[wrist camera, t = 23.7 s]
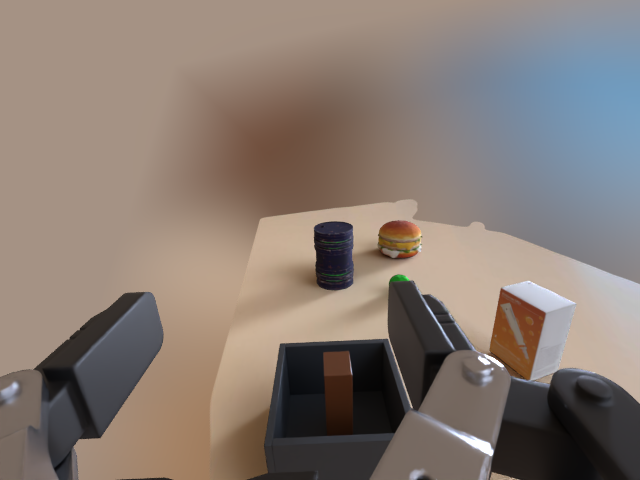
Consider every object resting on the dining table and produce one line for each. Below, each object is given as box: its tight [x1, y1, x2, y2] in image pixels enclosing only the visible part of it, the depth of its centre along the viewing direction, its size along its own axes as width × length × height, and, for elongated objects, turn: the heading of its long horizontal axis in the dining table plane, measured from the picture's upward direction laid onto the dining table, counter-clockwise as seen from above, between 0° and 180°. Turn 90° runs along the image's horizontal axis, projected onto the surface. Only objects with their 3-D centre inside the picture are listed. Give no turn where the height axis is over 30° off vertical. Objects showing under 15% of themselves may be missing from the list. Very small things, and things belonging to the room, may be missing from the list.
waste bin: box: [264, 339, 411, 480], centre depth 41 cm, size 16×16×10 cm
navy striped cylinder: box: [314, 221, 354, 290], centre depth 82 cm, size 10×10×15 cm
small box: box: [490, 281, 576, 381], centre depth 52 cm, size 8×6×13 cm
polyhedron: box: [389, 275, 409, 284], centre depth 76 cm, size 5×5×5 cm
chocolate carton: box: [323, 351, 353, 436], centre depth 40 cm, size 3×4×12 cm
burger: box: [378, 220, 422, 258], centre depth 99 cm, size 13×14×10 cm
